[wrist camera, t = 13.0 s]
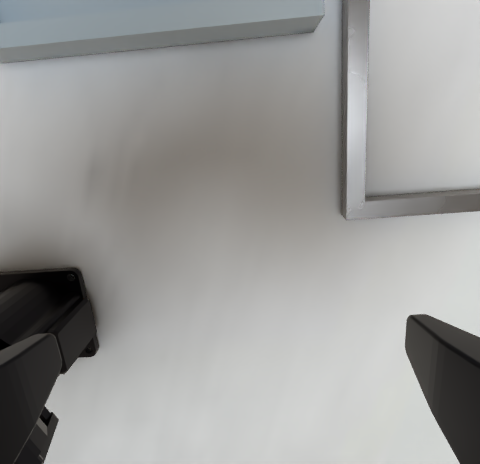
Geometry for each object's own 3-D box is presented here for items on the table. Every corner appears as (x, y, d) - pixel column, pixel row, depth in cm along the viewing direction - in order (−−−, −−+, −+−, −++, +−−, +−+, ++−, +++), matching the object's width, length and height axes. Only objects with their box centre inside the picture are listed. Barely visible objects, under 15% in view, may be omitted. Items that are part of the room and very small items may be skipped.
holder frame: (341, 214, 21) (346, 220, 20) (343, -142, 16) (349, -162, 15) (549, 200, 20) (567, 205, 19) (618, -178, 15) (648, -202, 14)
